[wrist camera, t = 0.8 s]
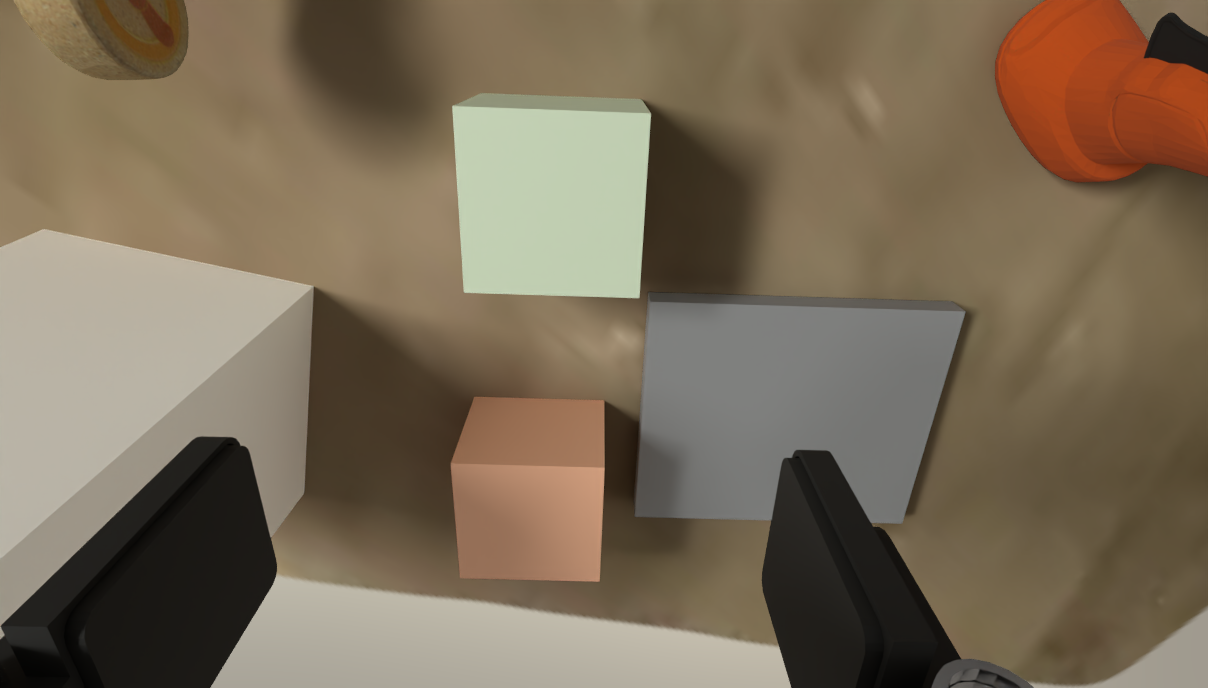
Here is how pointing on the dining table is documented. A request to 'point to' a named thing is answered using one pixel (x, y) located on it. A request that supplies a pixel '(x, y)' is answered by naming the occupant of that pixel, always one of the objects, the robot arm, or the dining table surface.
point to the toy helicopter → (112, 35)
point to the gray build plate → (785, 398)
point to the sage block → (551, 194)
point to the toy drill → (1105, 90)
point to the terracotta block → (530, 489)
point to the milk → (134, 387)
